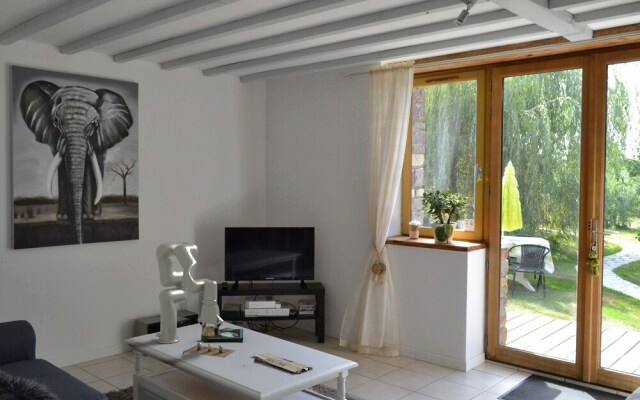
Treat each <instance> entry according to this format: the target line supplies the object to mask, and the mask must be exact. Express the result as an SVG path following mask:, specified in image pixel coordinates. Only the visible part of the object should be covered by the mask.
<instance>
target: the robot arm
mask: <svg viewBox="0 0 640 400" xmlns="http://www.w3.org/2000/svg"><path fill="white" fill-rule="evenodd" d="M198 253H199V249H198V247H197V245H196V244H194V243H192V242H187V241H171V242H163V243H160V244H159V245H158V246H157V247H156V250H155V256H156V260H157V265H158V272H159V282H160V285H161V286H162V287H164V288H166V289H164V290H161V291H160V293H158V294H159V295H158V300H159V307H160V308H159V309H160V330H159V331H160V332H156V333H155V337H156V338H157V337H158V339H157V342H158V343H159V344H173V343H178V342H179V341H180V338H179V337H177V333H178V331H177V328H178V327H177V325H178V324H177V322H178V321H177V318H178V313H177V312H178V311H177V308H176V307H175V304H177V305H178V304H182V303H184V302H186V300H187V299H188V293H190V294H195V295H196V294H201V293H203V299H202V300H201V303H203V304H202V305H201V310H200V317H198V318H197V321H198V322H199V325H200V326H201V329H202V328H203V327H206V326H207V324H210V325H211V324H212V325H213V326H215V335H217V334H218V333H219V329H220V327H221V326H222V324H223V323H224V320H223V319H222V318H221V317H220V308H219V305H218V282H217V281H216V280H210V279H209V278H201V279H200V278H199V279H193V278H192V275H191V272H192V271H194V270H195V269H196V268H197V266H198V263H197V260H196V259H195V258H196V257H197V256H198ZM170 257H175V258H176V259H177V262H178V263H179V265H180V267H181V268H182V270H181V269H174V262H173V261H172V259H171V258H170ZM169 287H172V288H169Z"/></svg>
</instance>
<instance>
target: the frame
mask: <svg viewBox="0 0 640 400" xmlns="http://www.w3.org/2000/svg"><path fill="white" fill-rule="evenodd" d="M218 334H219V333H218ZM201 335H203V336H215V325H206V327H203V328H202V327H201Z"/></svg>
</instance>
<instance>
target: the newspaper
mask: <svg viewBox="0 0 640 400" xmlns="http://www.w3.org/2000/svg"><path fill="white" fill-rule="evenodd" d="M254 360H256V361H259V362H263V363H265V364H268V365H273V366H276V367H278V368H281V369H284V370H287V371H290V372H293V373H297V374H301V371H303V370H302V369H304V368H308V369H311V370H313V367H312V366H310V365H306V364H303V363H300V362H296V361H293V360H290V359H286V358H283V357H280V356H277V355H273V354H270V353H267V352H260V353H257V354H254Z"/></svg>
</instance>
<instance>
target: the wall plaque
mask: <svg viewBox="0 0 640 400" xmlns="http://www.w3.org/2000/svg"><path fill="white" fill-rule="evenodd" d="M200 339H201V340H200V341H201V342H204V343H227V344H228V343H230V344H231V343H232V344H233V343H234V344H236V343H237V344H242V343H244V329H243V328H231V327H225V328H221V329H220V328H219V334H217V335H215V336H203V335H202V334H200Z"/></svg>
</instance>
